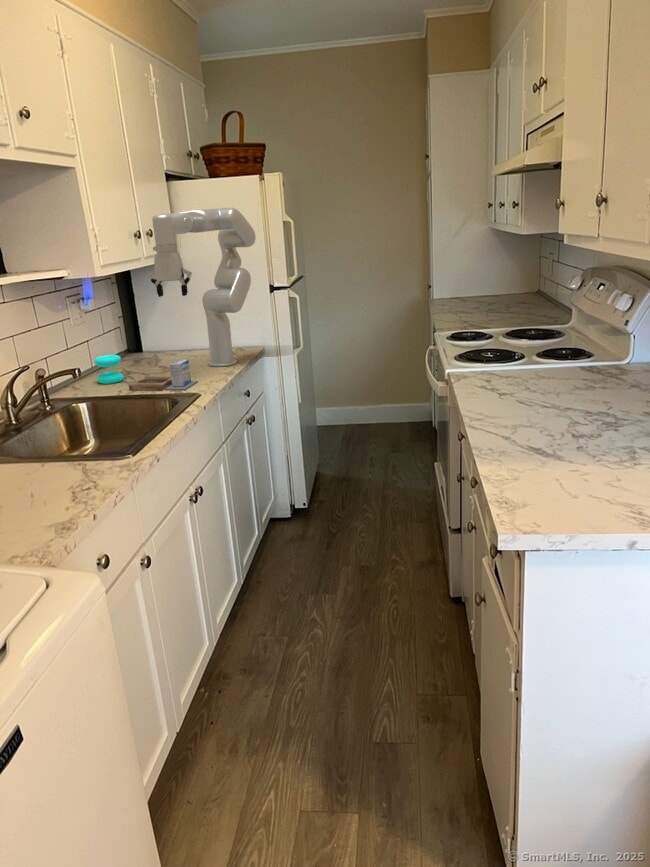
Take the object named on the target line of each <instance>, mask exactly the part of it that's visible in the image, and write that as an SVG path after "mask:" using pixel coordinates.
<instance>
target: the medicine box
mask: <svg viewBox="0 0 650 867" xmlns="http://www.w3.org/2000/svg"><path fill="white" fill-rule="evenodd" d="M190 368H191V367H190V360H189V359H178V360H176V361H175V362H172V363H170V364H169V369H170V377H171V378H172V385H173V386H174V387H184V386H185V385H187V384H188V383H190V382H191V381H192V377H191V376H192V375H191V369H190Z"/></svg>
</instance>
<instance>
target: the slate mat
mask: <svg viewBox="0 0 650 867" xmlns="http://www.w3.org/2000/svg"><path fill="white" fill-rule="evenodd" d="M198 383H199V381H198V380H191V382H190V383H188V384H187V385H185V386H184V387H174V386H173V385H170V386H169V387H167V388H165V389H164V390H165V391H187V390H189V389H190V388H191V387H193V386H195V385H196V384H198Z"/></svg>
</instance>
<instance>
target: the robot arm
mask: <svg viewBox="0 0 650 867" xmlns="http://www.w3.org/2000/svg"><path fill="white" fill-rule="evenodd" d="M151 221H152V228H153V235H154V242H155V246H153V247H152V250H153V251H155V252H156V253H154V262H153V265H154V269H153V270H152V271H151V272H150V273H148V274H147V277H148V278H149V279H150V282H151V283H153V285H154V286H155V287H156V294H157V295H158V298H159V297H160V298H161V297H163V296H164V289H163V285H162V283H163V282H172V281H174V282H175V281H178V282H179V283H180V284H181V286H180V290H181V295H182V297H186V296H187V295H188V293H189V292H188V284H189V282H190V281H191V278H192V275H193V272H192V271H190V270H188V269H185V268H184V265H183V261H182V257H181V253H180V252H178V247H177V239H176V235H183V234H189V233H191V234H194V233H195V234H196V233H205V232H206V233H207V232H214V231H218V233H217V240H218V241H217V242H218V243H219V247H220V250H221V251H220V252H221V259H220V262H219V264H218V268H217V270H216V272H215V275H214V279H213V285H214V286H215V288H211V289H208V290H206V291H205V292H204V293H203V295H202V298H201V299H202V300H201V302H202V306H203V310H204V313H205V318H206V326H207V334H208V337H207V338H208V346H209V355H210V360H208V361H207V366H209V367H217V368H218V367H228V366H230V367H231V366H234V365H236V364H237V363H238V360H237V359H236V358H234V350H233V345H232V344H233V343H232V342H233V341H232V333H231V322H230V319H229V317H228V315H227V314H236V313H238V312H240V311H241V309H243V306H244V304H245V301H246V298H247V296H248V293H249V290H250V287H251V282H252V277H251V273H250V272H249V270H247V269H246V268H244V267H242V258H241V255H240V254H239V252H238V251H237V248H250V247H252V246H253V245H254V244H255V243H256V232H255V229H253V227H252V225H251V224H250V222H249V221H248V220H247V218H246V217H245V216H244V215H243V214H242V212H241V211H240V210H238V208H235V207H221V208H219V207H218V208H216V207H215V208H207V209H203V208H202V209H194V210H188V211H180V212H171V213H168V212H167V213H161V214H157V215H156V214H155V215H153V216H152V219H151ZM185 275H186V278H185Z"/></svg>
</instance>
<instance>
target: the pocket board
mask: <svg viewBox="0 0 650 867" xmlns="http://www.w3.org/2000/svg"><path fill="white" fill-rule="evenodd" d="M170 385H172V378H171V376H155V375H154V376H146V375H145V376H144V377H142V378H140V379H138V380H136V381H134V382H132V383H130V384H129V385H128V390H129V391H131V392H133V391H134V392H135V391H140V392H141V391H142V392H143V391H145V392H149V391H150V392H156V391H157V392H162V391H164V390H165V388H167V387H169V386H170Z"/></svg>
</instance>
